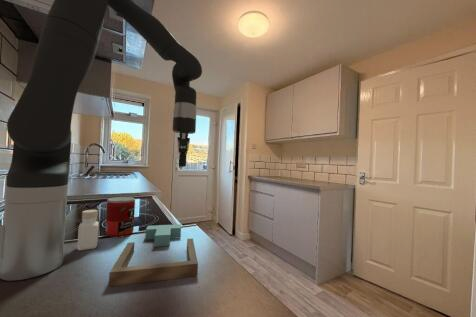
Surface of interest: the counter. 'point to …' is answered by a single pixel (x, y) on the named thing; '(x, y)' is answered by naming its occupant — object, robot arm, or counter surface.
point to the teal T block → (163, 233)
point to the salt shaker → (88, 230)
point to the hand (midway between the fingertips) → (182, 166)
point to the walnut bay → (152, 268)
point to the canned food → (120, 216)
